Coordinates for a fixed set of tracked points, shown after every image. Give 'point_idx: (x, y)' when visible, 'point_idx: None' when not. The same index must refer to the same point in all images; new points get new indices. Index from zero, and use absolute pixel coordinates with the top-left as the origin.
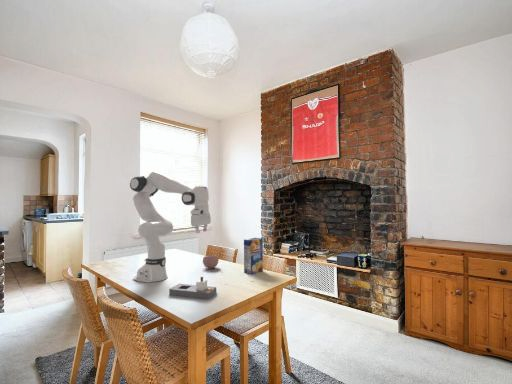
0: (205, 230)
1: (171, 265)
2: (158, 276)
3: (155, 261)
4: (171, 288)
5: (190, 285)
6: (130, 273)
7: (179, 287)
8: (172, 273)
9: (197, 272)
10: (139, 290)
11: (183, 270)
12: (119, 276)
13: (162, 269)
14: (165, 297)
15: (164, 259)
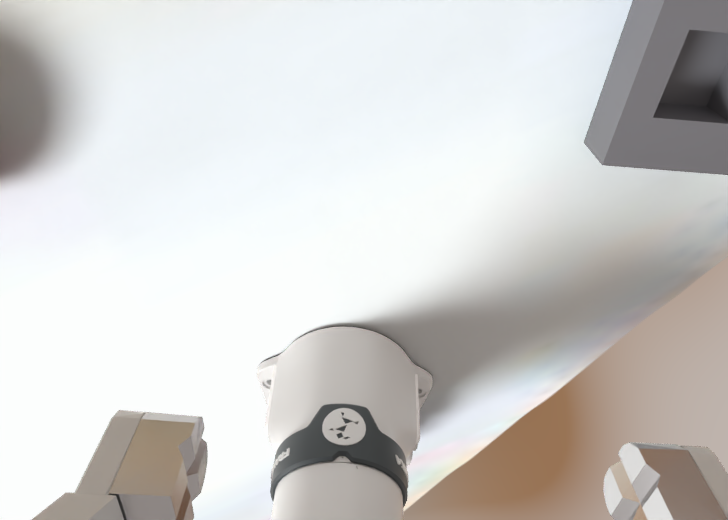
0: (190, 437)
1: (50, 417)
2: (391, 366)
3: (401, 468)
4: (724, 166)
5: (668, 45)
6: None
7: (699, 120)
8: (213, 342)
9: (112, 199)
10: (568, 353)
11: (115, 312)
12: None
13: (360, 389)
14: None
15: (335, 446)
